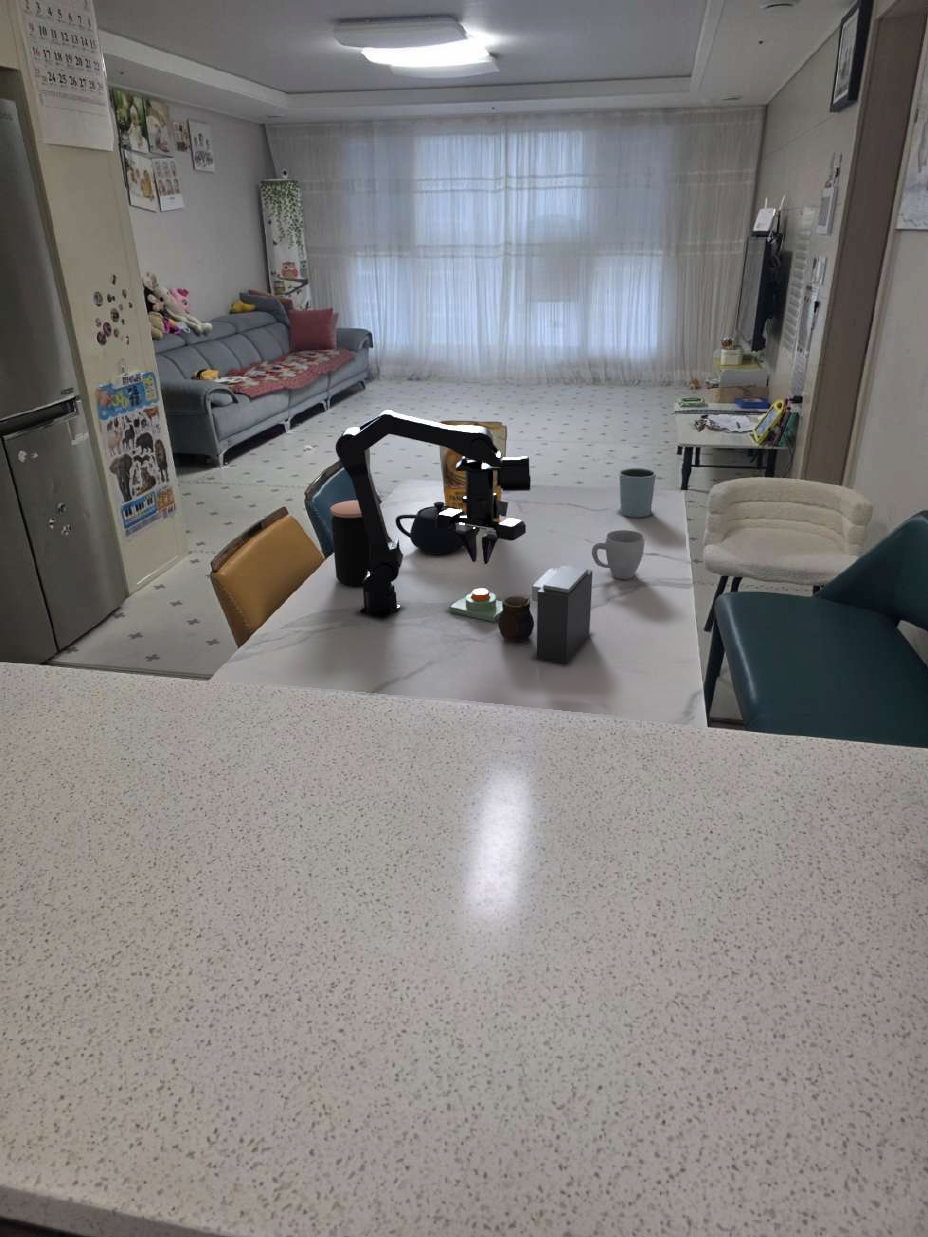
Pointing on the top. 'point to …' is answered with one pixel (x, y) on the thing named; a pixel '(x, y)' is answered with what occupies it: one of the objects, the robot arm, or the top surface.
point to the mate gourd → (516, 618)
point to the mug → (621, 552)
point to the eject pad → (478, 607)
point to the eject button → (480, 595)
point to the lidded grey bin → (562, 612)
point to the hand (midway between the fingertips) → (480, 562)
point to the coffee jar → (350, 543)
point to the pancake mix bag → (449, 459)
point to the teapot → (431, 531)
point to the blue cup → (636, 491)
